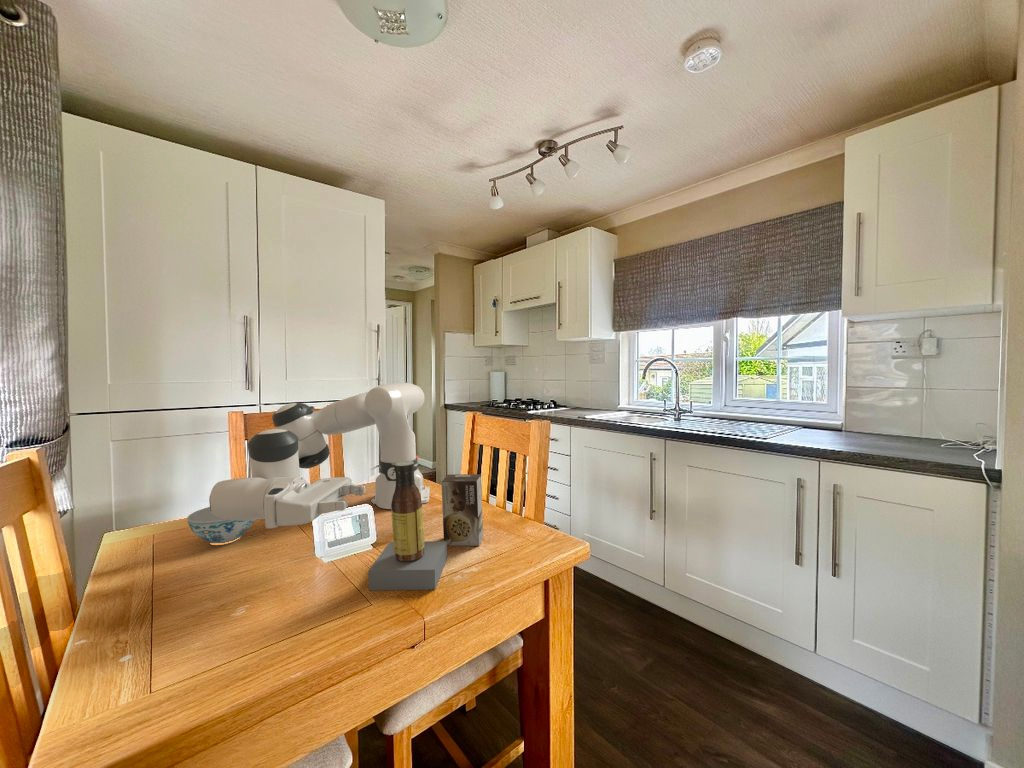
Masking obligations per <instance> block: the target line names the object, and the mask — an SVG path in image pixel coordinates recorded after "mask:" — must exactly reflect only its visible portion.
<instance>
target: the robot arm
mask: <svg viewBox="0 0 1024 768" xmlns="http://www.w3.org/2000/svg"><path fill="white" fill-rule="evenodd" d="M425 398H426V397H425V393H424V390H422V388H421V386H419V385H416V384H414V383H411V382H410V383H409V382H396V383H393V382H392V383H383V384H379V385H378V386H374V387H373V388H372V389H369V391H367V392H362V393H359V394H355V395H352V396H350V397H346V398H344V399H339V400H337V401H334V402H332V403H330V404H328V405H326V406H324V407H322V408H321V409H319V410H317V411H314V410H315V407H314V406H313V405H312V406H309V405H308V404H307V403H302V402H294V403H293V402H292V403H287V404H285V405H282V406H281V407H279V408H278V409H277V410H276V411H274V413H273V415H272V422H273V426H274V427H276V428H272V429H266V430H263V431H260V432H257V433H255V434H254V435H253V436H252V437H251V439H250V440H249V441H248V442H247V450H248V455H249V461H250V471H251V472H250V473H251V477H240V478H233V479H226V480H221V481H218V482H216V483H215V484H214V485H213V487H212V488H211V491H210V494H209V497H208V499H209V501H208V502H209V507H210V510H211V512H212V514H213V515H214V516H215V517H217V518H220V519H225V520H236V521H254V520H255V521H257V520H262V519H264V525H265V529H276V528H278V527H289V526H302V525H306V524H309V523H312V522H313V521H314V520H316V519H317V518H318V517H320V516H322V515H323V514H329V513H332V512H339V511H342V512H343V511H345V510H346V509H347V508H348V500H347V499H344V498H346V497H347V496H349V495H354V496H358V497H359V496H363V495H364V494H366V486H365V485H357V484H353V481H352V480H353V479H352V478H351V477H348V476H341V477H326V478H320V479H318V480H316V481H314V482H312V483H309V482H307V480H306V479H305V478H304V477H302V476H301V471H300V470H301V469H307V470H308V469H311V468H315V467H317V466H320V465H322V464H323V463H324V462H325V461H326V460H327V459H328V458H329V456H330V453H331V451H330V446H329V444H327V443H326V439H325V437H324V435H327V436H331V435H338V434H345V433H350V432H353V431H356V430H360V429H363V428H364V429H365V428H367V427H370V426H374V425H375V426H376V428H377V432H378V436H379V447H380V460H379V466H378V468H379V472H380V474H379V475H378V476H376V477H375V488H374V489H375V490H374V498H372V499H370V503H371V502H372V503H373V504H372V503H371V504H372V505H375V504H376V505H375V506H377V507H378V508H381V509H385V510H391V503H392V498H393V494H394V492H395V487H396V472H395V471H394V464H395V463H397V462H401V461H413V462H414V466H415V468H414V480H415V485H416V486H417V488H418V489H419V492H420V494H421V503H422V504H426V503H429V502H430V494H431V492H430V491H431V490H430V488H431V487H429V486H425V485H424V475H423V474H422V472H421V471H420V470H419V456H418V455H417V448H416V446H417V443H416V435H415V432H414V431H413V430H412V428H411V426H410V423H409V419H408V416H410V415H412V414H413V415H414V413H416V412H418V411H419V410H420V409H421V408H422V407H423V406H424V404H425ZM255 521H254V522H255Z"/></svg>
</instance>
